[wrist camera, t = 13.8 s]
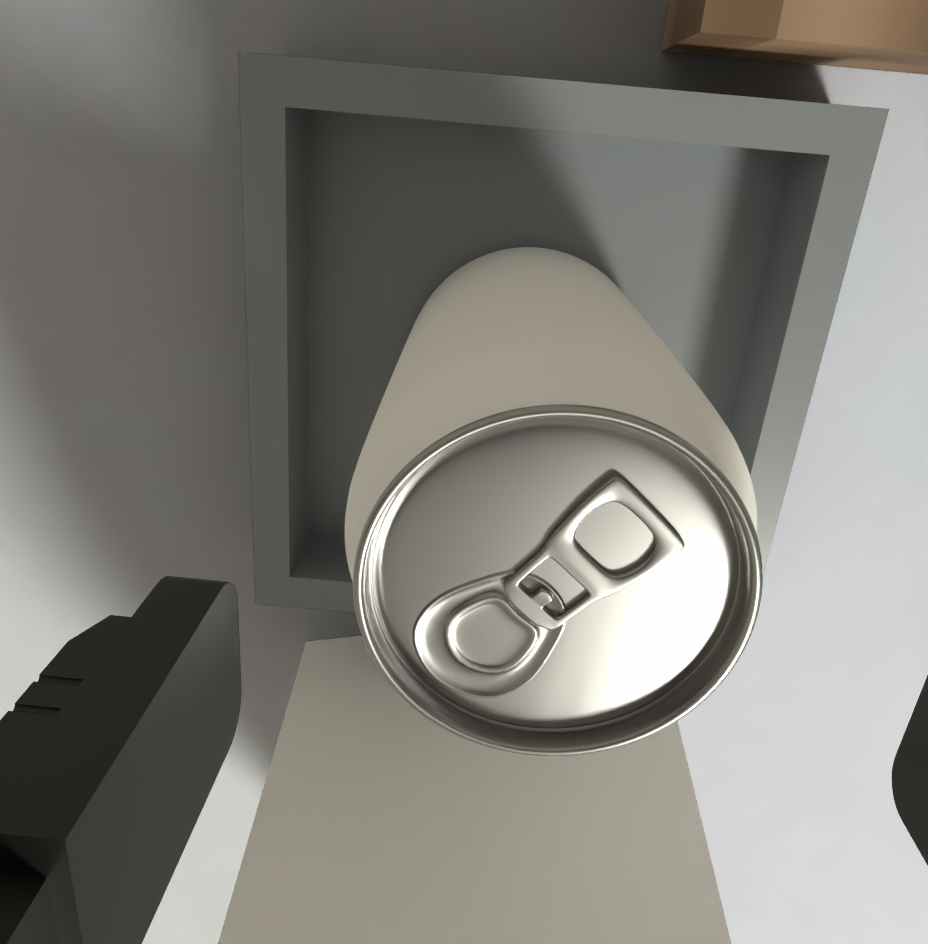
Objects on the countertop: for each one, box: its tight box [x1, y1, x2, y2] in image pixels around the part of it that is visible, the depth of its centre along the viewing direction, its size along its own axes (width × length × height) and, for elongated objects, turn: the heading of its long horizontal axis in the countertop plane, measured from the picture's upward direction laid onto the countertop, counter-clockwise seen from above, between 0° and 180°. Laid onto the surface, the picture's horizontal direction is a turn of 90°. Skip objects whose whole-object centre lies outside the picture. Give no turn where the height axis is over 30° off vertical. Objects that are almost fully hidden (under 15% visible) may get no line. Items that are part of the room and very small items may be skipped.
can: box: [345, 247, 763, 756], centre depth 16 cm, size 6×6×12 cm
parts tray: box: [238, 52, 889, 613], centre depth 21 cm, size 14×14×3 cm
